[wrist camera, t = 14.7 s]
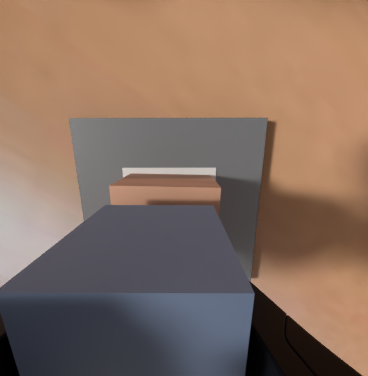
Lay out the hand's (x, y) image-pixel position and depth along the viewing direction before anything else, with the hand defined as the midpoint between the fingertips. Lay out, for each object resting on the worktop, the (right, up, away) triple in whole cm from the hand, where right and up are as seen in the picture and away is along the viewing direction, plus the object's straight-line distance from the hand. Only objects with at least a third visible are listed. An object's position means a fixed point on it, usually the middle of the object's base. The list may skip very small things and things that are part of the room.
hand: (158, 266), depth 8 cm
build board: (0, +2, +7) cm, 8 cm away
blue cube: (0, 0, +1) cm, 1 cm away
